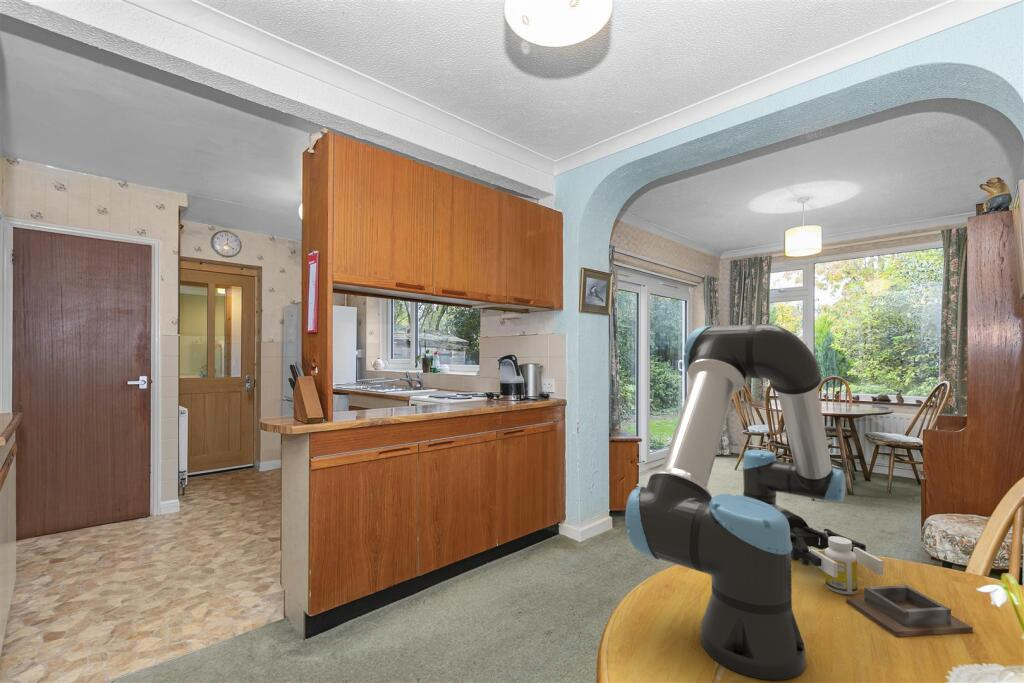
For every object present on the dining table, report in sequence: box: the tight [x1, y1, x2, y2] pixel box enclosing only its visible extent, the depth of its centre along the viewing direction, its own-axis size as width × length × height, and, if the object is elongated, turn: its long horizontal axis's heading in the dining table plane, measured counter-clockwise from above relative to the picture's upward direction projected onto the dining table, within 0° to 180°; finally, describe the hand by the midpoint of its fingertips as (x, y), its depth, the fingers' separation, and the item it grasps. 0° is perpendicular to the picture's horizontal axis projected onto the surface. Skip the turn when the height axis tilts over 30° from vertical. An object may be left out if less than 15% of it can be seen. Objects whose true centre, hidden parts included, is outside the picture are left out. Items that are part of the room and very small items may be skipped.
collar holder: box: [845, 584, 974, 638], centre depth 88 cm, size 14×11×3 cm
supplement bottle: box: [823, 536, 858, 596], centre depth 98 cm, size 5×5×10 cm
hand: (858, 569), depth 93 cm, fingers open, 9 cm apart
